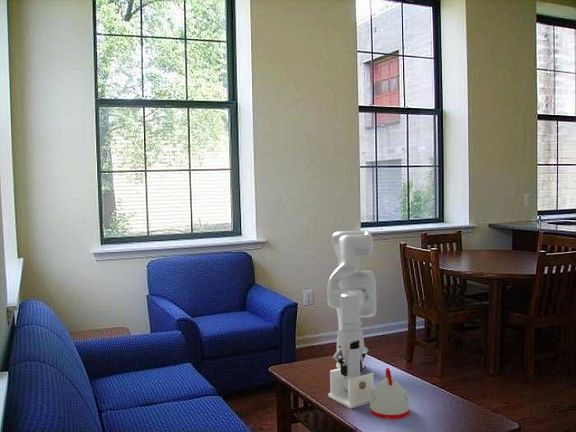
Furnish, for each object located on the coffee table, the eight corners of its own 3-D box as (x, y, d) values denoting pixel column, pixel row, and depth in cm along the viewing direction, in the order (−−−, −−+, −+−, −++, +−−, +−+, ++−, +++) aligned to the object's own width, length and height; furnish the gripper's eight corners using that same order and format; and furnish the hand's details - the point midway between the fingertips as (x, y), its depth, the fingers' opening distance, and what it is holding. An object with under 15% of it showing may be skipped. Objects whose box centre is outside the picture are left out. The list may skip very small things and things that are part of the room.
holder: (328, 396, 217) (327, 370, 217) (353, 389, 223) (352, 364, 223) (350, 408, 205) (350, 380, 205) (376, 401, 211) (376, 374, 211)
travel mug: (360, 386, 217) (359, 335, 216) (360, 393, 211) (359, 340, 209) (343, 386, 218) (342, 335, 217) (343, 393, 211) (342, 340, 210)
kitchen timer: (405, 403, 209) (404, 363, 208) (413, 418, 195) (412, 376, 194) (367, 404, 209) (366, 364, 208) (372, 420, 195) (371, 377, 194)
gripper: (362, 320, 220) (363, 366, 222) (325, 327, 212) (326, 375, 213) (374, 324, 214) (375, 371, 215) (337, 332, 205) (338, 380, 206)
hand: (351, 372), depth 214 cm, fingers closed on travel mug, 6 cm apart
